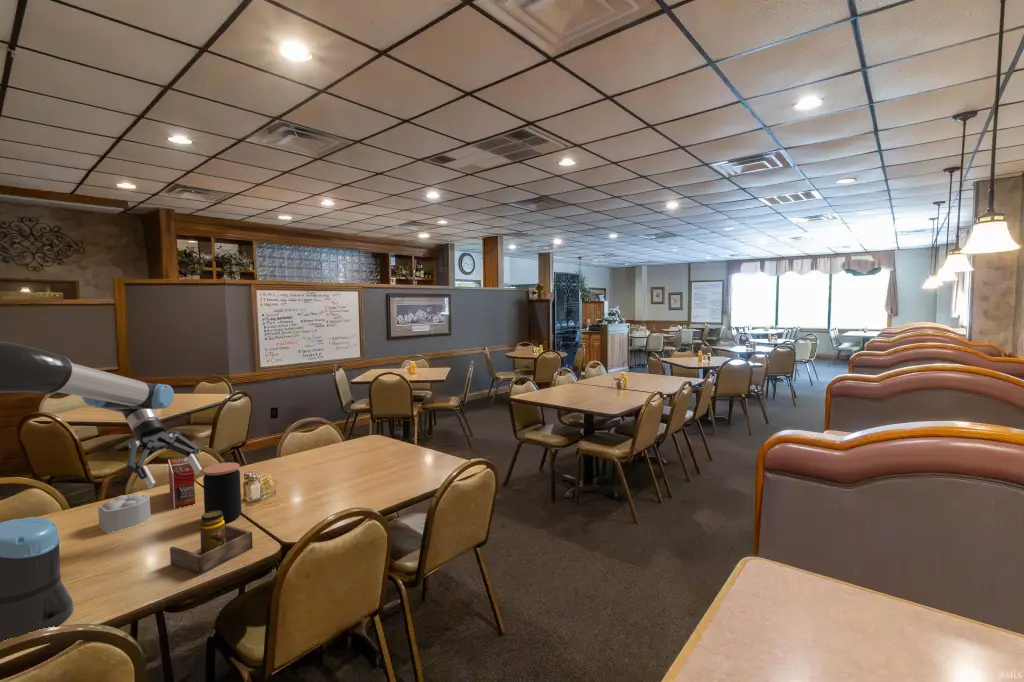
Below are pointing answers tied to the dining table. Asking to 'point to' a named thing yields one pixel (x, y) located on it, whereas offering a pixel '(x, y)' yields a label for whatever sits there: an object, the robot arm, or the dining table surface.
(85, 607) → the dining table surface
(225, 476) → the coffee jar
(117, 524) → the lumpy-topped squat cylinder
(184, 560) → the caddy
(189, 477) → the ice cream box
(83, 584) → the dining table surface
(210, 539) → the condiment
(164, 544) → the dining table surface
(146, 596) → the dining table surface
